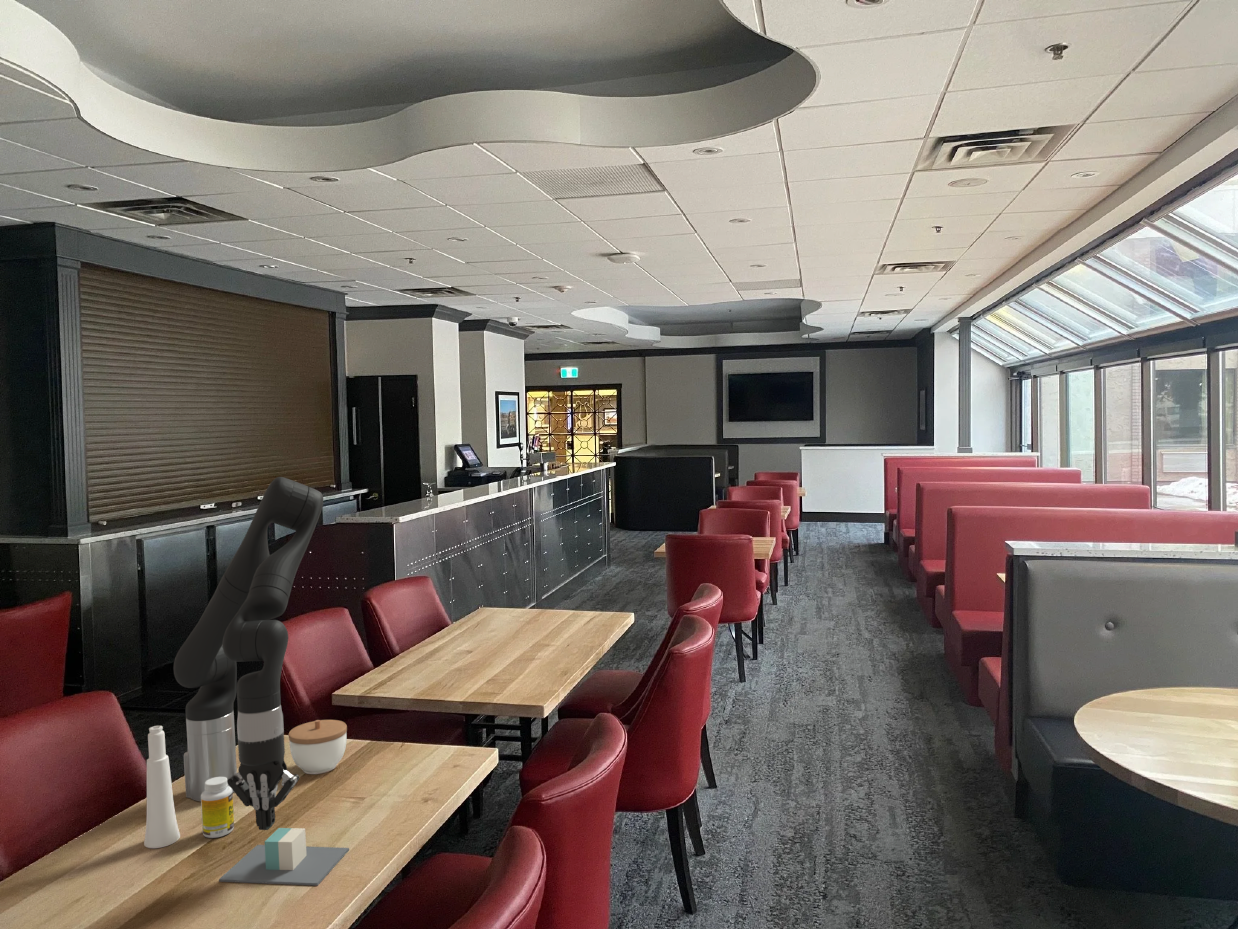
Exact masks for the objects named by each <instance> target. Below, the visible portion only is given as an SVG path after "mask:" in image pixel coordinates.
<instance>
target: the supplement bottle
mask: <svg viewBox="0 0 1238 929" xmlns="http://www.w3.org/2000/svg"><path fill="white" fill-rule="evenodd" d="M200 806H201V807H200V808H201V810H200V811H201V824H202V825H201V826H202V834H203V836H204V837H205V838H210V839H217V838H220V837H224V836H227V835H228V834H230V833H231V832H232V831H233V830H234V829H235V816H234V796H233V792H232V788H231V787H229V786H228V783H227V778H226V777H215V778H211V779H209V780H207V781H206V782H205V791H204V792H203V793H202V794H201V801H200Z"/></svg>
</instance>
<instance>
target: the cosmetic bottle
mask: <svg viewBox="0 0 1238 929" xmlns="http://www.w3.org/2000/svg"><path fill="white" fill-rule="evenodd" d="M163 729H164V728H163V726H162V725H154V726H150V727H149V728H148V730H149V733H148V734H147V741H148V742H147V744H148V758H147V759H146V824H145V825H146V826H145V835H144V843H143V845H144V847H146V848H147V849H159V848H165V847H168V846H170V845H172V844H175V843H176V842H177V841H178V840H179V839H181V833H180V830H179V825H178V821H177V816H176V810H175V803H174V794H173V787H172V776H171V768H170V759H169V755H168V754H166V753H167V752H166V738H165V736H166V735H165V731H164V730H163Z"/></svg>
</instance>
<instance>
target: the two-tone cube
mask: <svg viewBox="0 0 1238 929" xmlns="http://www.w3.org/2000/svg"><path fill="white" fill-rule="evenodd" d="M306 839H307V838H306V828H304V827H303V828H301V827H297V828H295V827H292V828H291V827H278V828H277V829H276V830H275V831H274V832H273V833H272V834H271V835H270V836H269V837H267V839H265V841H264V845H265V860H266V869H267V870H294V869H295V868H296V866H297V865H298V864H299V863H300V862H301V861H302V860H303V859H304V858H305V857H306V856H307V855H306V846H307V840H306Z"/></svg>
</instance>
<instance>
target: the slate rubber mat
mask: <svg viewBox="0 0 1238 929" xmlns="http://www.w3.org/2000/svg"><path fill="white" fill-rule="evenodd" d="M349 851H350V848H349V847H338V846H337V847H336V846H333V847H329V846H307V845H306V855H307V856H306V857H305V858H304V859H303V860H302V861H301V862H300V863H299V864H298V865H297V866H296V868H295V869H294V870H267V869H266V860H265V844H257V845H256V846H254V847H253V848H252V849H250V851H249V852H248V853H246V854H245V855H244V856H243V857H242V858H241V859H240V860H239V861H237V863H235V865H232V867H231V868H230V869H229V870H227V871H226V873H224V874H223V875H222V876H221V877H219V879H218V882H220V883H221V882H224V883H248V884H267V885H268V884H271V885H294V886H295V885H297V886H316V887H317V886H319V885H320V884H321V883H322V881H323V880H324V879H325V878H326V877H327V876H328V875H329V873H330V872H331V871H332V870H333V869H334V868H335V867H336V866H337V865H338V863H339V862H340V861H341V860H342V859H343V857H344V856H346V854H347V853H348V852H349Z"/></svg>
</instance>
